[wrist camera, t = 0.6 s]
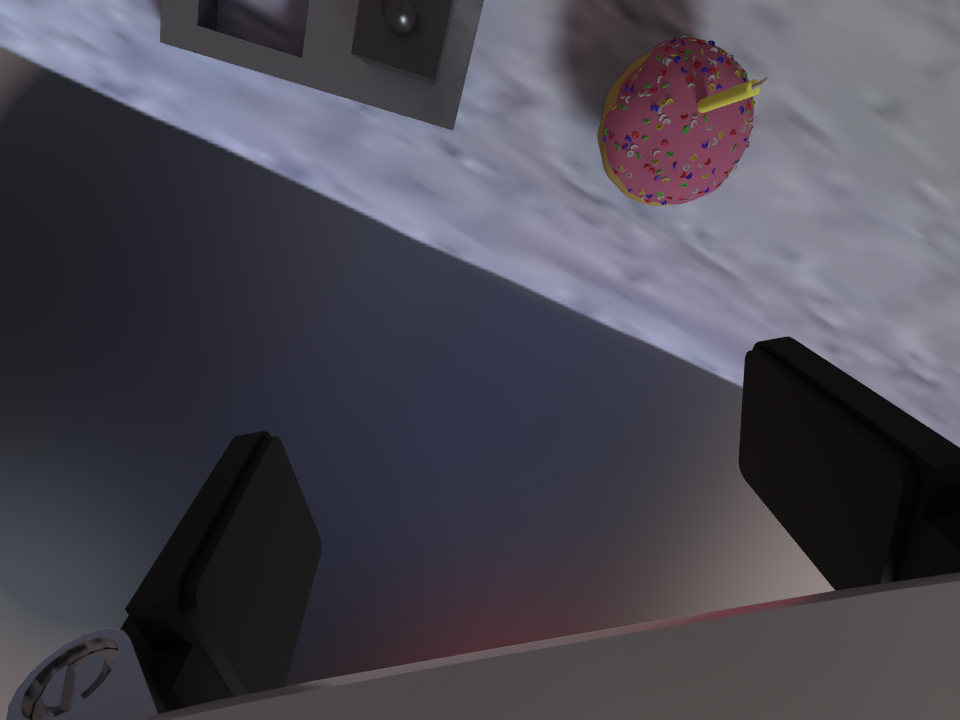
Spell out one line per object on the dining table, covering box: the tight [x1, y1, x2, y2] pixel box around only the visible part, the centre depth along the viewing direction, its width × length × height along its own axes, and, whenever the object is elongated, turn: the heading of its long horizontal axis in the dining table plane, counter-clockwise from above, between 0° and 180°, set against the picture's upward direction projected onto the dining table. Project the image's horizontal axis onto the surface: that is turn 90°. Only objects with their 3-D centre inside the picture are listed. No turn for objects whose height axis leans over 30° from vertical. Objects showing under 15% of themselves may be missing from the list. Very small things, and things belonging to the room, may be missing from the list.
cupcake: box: [598, 36, 768, 206], centre depth 28 cm, size 9×8×12 cm
